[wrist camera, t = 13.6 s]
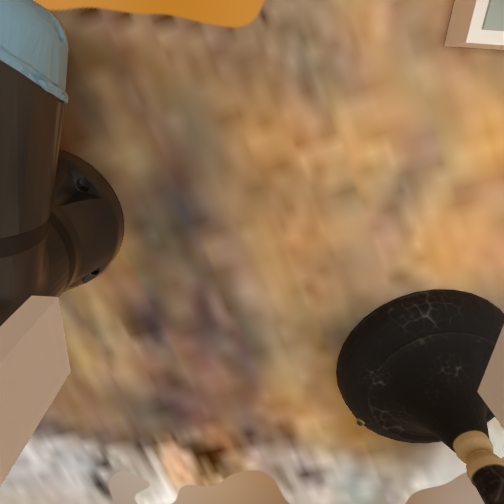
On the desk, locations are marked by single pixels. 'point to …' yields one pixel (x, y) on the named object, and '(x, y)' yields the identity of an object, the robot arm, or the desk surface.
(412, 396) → the banker's lamp
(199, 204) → the desk surface
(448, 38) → the base
